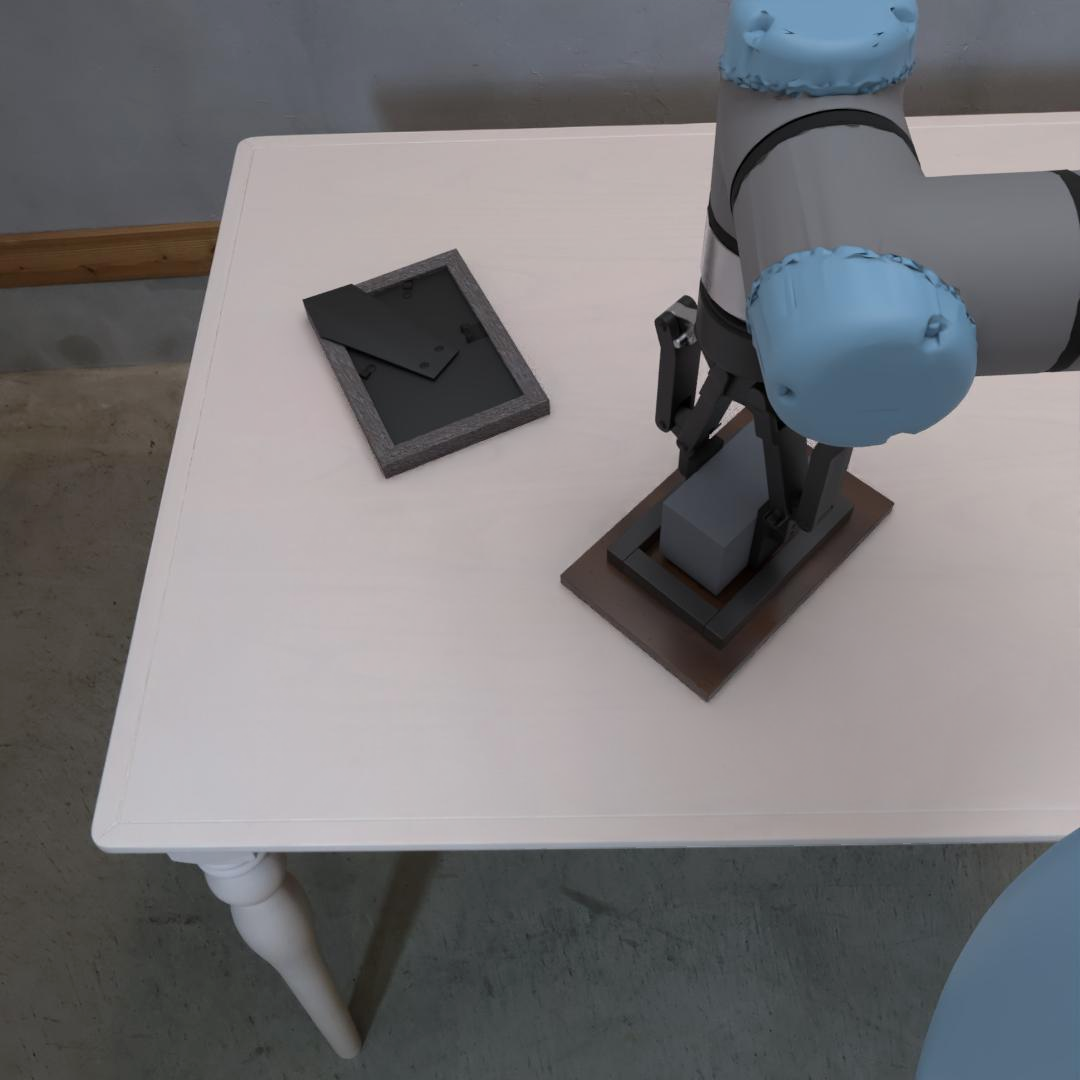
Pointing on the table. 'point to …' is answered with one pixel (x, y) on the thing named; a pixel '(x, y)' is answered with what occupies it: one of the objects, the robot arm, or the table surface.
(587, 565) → the back plate
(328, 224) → the table surface
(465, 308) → the picture frame
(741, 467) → the pad block
